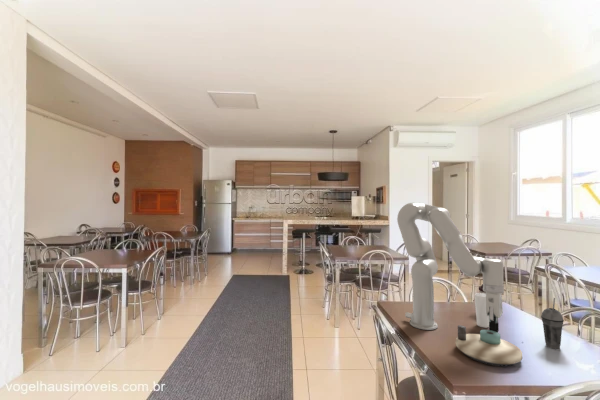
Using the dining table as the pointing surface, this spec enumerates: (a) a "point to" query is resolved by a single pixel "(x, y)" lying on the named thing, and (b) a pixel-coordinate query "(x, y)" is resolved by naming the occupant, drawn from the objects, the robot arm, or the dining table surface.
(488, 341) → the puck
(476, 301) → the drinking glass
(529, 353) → the dining table surface
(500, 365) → the base
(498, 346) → the turntable plate
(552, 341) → the beverage cup
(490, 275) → the robot arm
